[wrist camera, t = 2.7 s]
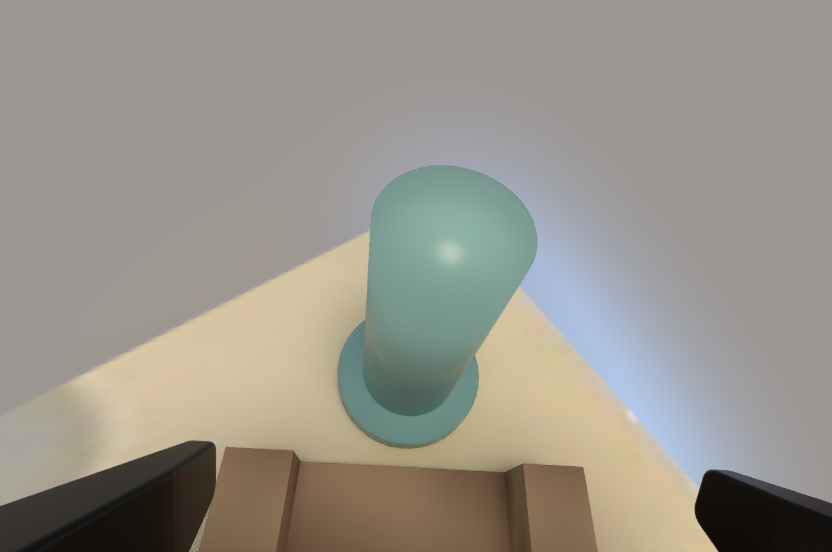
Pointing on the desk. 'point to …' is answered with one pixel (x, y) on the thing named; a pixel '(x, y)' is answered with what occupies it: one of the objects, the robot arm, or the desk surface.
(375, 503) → the notched board
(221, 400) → the desk surface
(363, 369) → the teal flanged cylinder
